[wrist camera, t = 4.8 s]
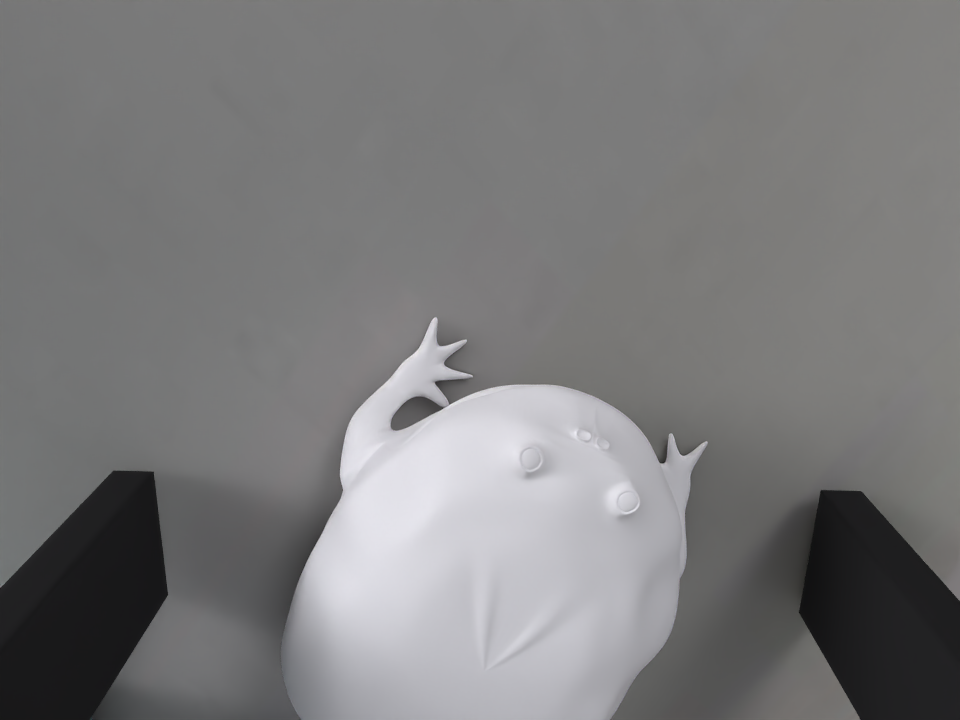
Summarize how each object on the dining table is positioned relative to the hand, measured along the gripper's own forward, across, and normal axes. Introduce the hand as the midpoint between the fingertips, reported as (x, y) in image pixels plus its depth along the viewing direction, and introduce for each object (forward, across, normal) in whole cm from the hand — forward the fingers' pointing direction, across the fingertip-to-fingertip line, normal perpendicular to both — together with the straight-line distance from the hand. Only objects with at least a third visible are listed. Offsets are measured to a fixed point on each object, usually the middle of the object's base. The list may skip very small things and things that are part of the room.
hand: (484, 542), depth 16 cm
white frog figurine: (0, 0, 0) cm, 0 cm away
